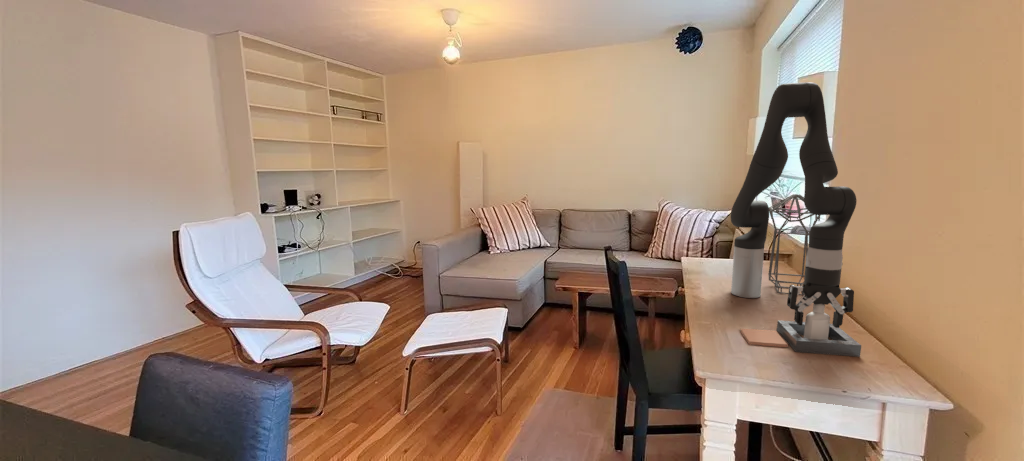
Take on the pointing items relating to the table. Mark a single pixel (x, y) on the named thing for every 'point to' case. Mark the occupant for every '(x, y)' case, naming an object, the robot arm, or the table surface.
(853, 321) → the table surface
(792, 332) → the socket plate
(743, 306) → the table surface
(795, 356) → the table surface
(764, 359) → the table surface
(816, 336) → the eye dropper bottle
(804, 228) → the geometric lantern
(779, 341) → the terracotta tile
